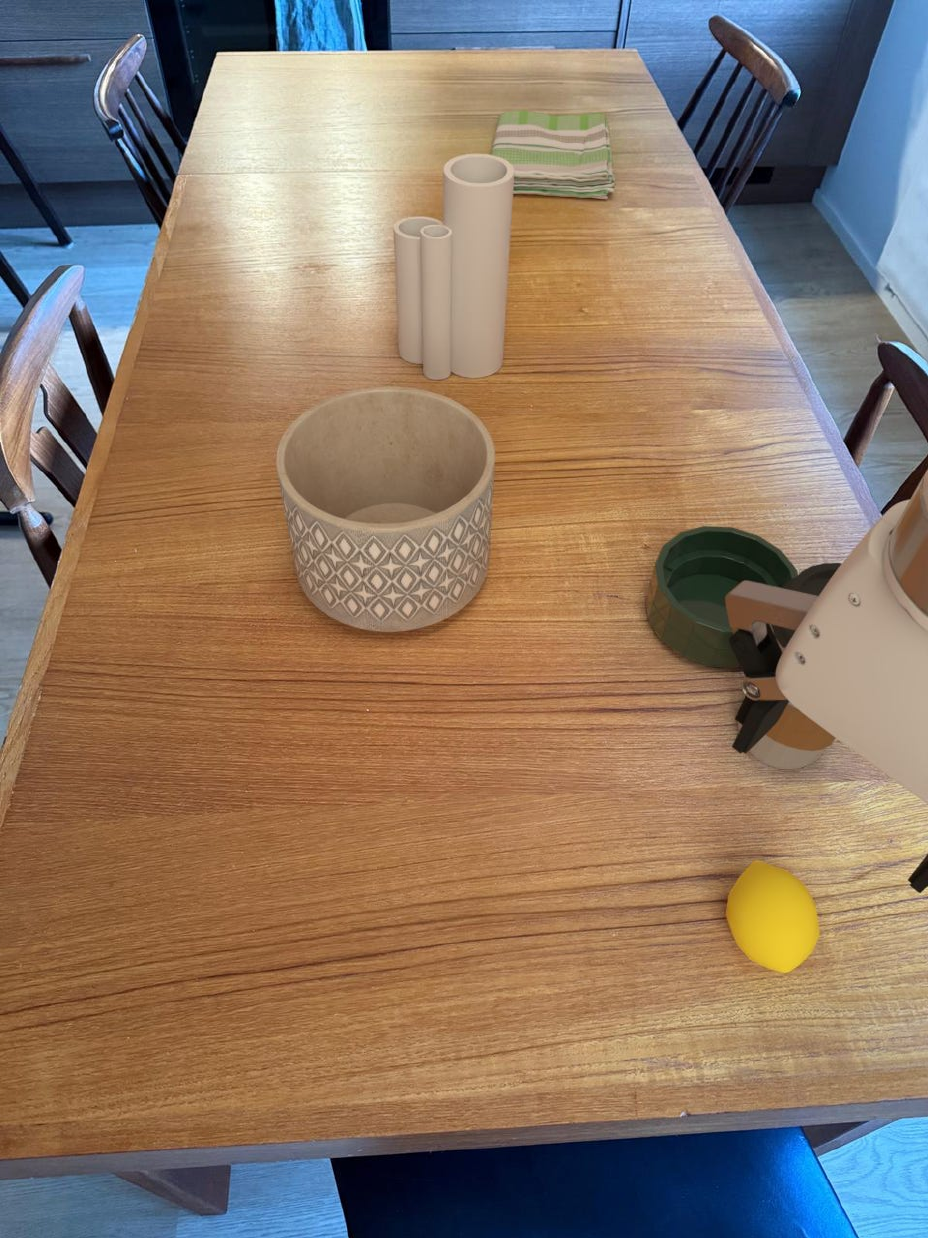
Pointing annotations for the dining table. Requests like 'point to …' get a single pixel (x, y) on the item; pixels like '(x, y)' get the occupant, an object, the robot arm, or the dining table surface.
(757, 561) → the bowl
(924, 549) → the robot arm
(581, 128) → the dish towel
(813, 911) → the lemon
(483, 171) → the vase
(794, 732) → the coffee cup
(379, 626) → the planter
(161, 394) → the dining table surface
